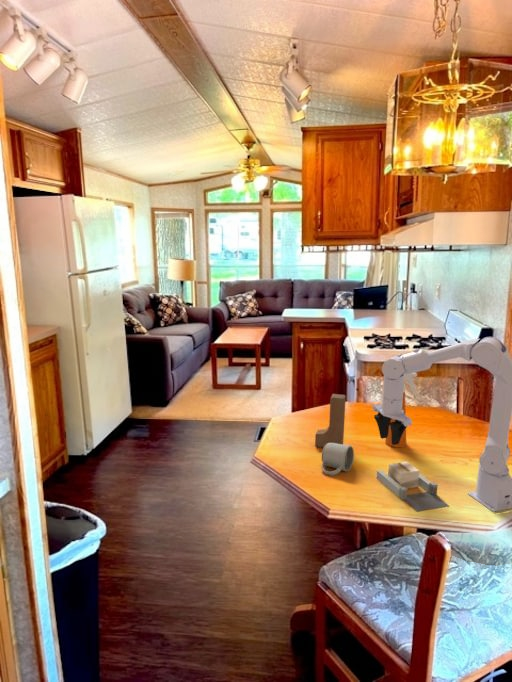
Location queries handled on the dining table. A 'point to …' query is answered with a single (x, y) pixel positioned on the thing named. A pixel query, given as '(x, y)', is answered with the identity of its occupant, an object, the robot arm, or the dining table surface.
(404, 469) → the block
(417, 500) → the mat
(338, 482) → the dining table surface
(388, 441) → the spray bottle
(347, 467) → the ceramic mug
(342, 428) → the wooden block
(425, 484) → the chute
